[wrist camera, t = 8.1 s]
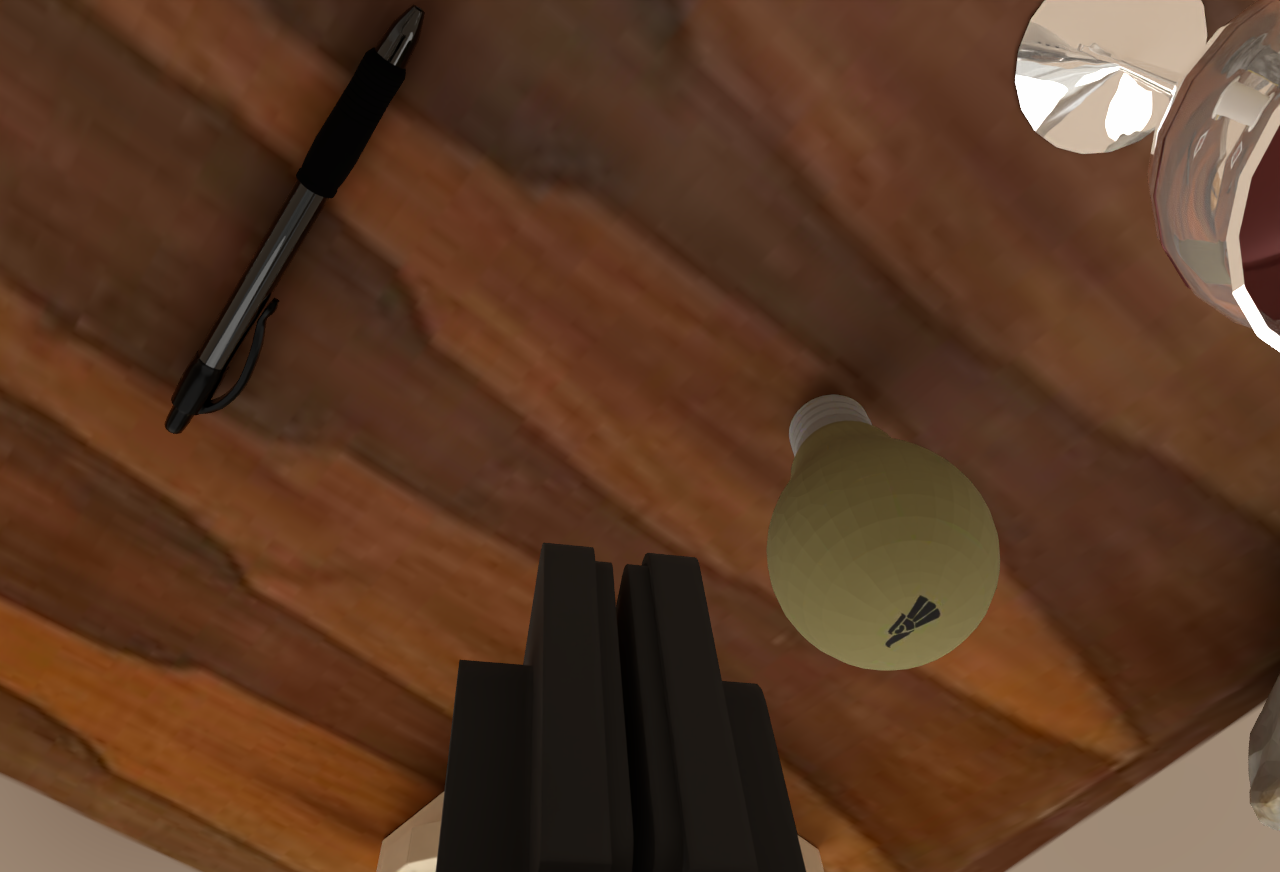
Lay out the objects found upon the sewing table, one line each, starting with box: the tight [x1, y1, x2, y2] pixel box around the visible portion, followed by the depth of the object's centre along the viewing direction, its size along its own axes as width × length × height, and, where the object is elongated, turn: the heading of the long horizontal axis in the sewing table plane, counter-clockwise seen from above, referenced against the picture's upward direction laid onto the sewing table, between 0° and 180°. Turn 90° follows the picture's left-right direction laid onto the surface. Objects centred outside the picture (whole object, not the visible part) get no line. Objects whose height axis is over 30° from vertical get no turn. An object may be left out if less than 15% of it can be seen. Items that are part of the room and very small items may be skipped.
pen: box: [165, 5, 425, 434], centre depth 28 cm, size 14×2×1 cm, turn 144°
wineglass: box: [1015, 0, 1280, 352], centre depth 23 cm, size 7×7×12 cm
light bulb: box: [767, 394, 1000, 670], centre depth 28 cm, size 6×6×10 cm
